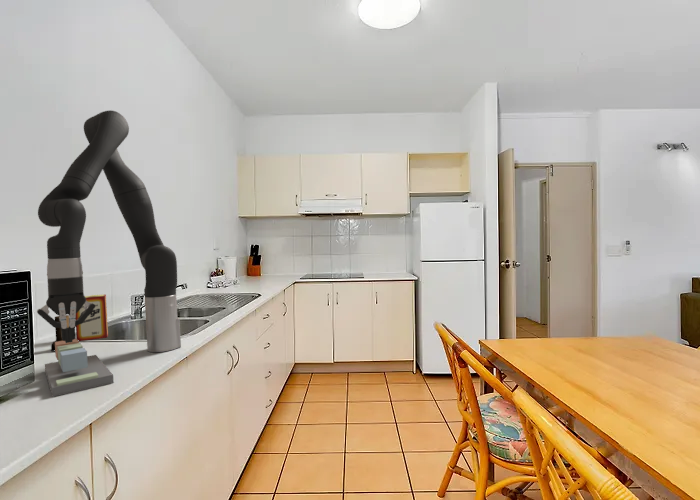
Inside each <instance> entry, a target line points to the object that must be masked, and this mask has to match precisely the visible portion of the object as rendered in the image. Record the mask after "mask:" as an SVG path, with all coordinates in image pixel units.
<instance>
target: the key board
mask: <svg viewBox="0 0 700 500" xmlns="http://www.w3.org/2000/svg"><path fill="white" fill-rule="evenodd" d="M87 362H88V367H87V368H82V369H77V370H72V371H67V372H63V371H62V369H61V366H60V365H59V362H58V361H55V362H49V363H44V373H45V376H46V379H47V382H48V386H49V389H50V393H51V396H52V398H53V397H58V396H61V395H65V394H71V393H75V392H76V393H77V392H79V391H84V390H88V389H93V388H97V387H101V386H106V385H109V384H110V385H111V384H114V374H113V373H112V371H111V370H110V369H109V368H108V367H107V366H106V365H105V364H104V362H103V361H102V360H101V359H100V357H98V355H97V354H93V355H87Z"/></svg>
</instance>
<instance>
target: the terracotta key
mask: <svg viewBox="0 0 700 500" xmlns="http://www.w3.org/2000/svg"><path fill="white" fill-rule="evenodd" d="M77 343H80V341H78V340H77V338H75V339H74V340H72V342H69V343H65V341H58V342H55V351H54V352H55V358H56V360H58V350H57V347H58V346H64V345H70V344H77Z"/></svg>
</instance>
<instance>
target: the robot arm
mask: <svg viewBox="0 0 700 500" xmlns="http://www.w3.org/2000/svg"><path fill="white" fill-rule="evenodd" d="M83 131H84V135H85V138H86V140H87V142H88V145H87V147H86V148H85V149H84V150H83V151H82V152H81V153H80V154H79V155H78V156H77V157H76V158H74V161H73V162H72V163H71V164H70V165H69V167H68V169H67V170H66V172H65V174H64V175H63V178H62V179H61V181H60V183H59V184H58V185H57V186H55V187H54V188H53V189H52V190H51V191H50V192H49V193H48V194H47V195H46V196H45V197H44V198H43V199H42V201H41V202H40V204H39V206H38V209H37V216H38V219H39V221H40V222H41V223H42V224H43V225H44V226H47V227H52V228H55V227H57V228H58V227H60V228H59V229H58V230H59V231H58V233H57V234H55V235H53V236H50V237H49V238H47V241H46V248H47V250H46V252H47V253H46V254H47V264H46V265H47V266H46V276H47V300H46V304H45V305H43V306H42V307H40V308H38V309H37V310H36V313H37V315H39V316H40V317H41V318H42V319H44V320H45V322H47V323H48V324H49V325H50V326H52V327H53V328H54V329H55V328H56V327H57V328H61V333H62V340H63V341H65V343H69V342H72V340H74V339H76V326H77V325H79V324H82V323H83V322H84V321H85V319H86V318H87V317H88V316H89V314H90V313H91V312H92V311H93V309H94V308H95V304H93V303H90V302H88V301H86V297H85V296H86V295H85V294H84V276H83V275H84V272H83V271H84V270H83V264H82V259H81V256H82V255H81V239H82V237H83V233H84V230H85V226H86V225H85V224H86V220H87V213H86V209H85V207H84V205H83V203H82V202H81V201H84V200H86V199H88V197H89V195H90V194H91V192H92V190H93V188H94V186H95V185H96V183H97V181H98V179H99V177H100V176H101V173H102V172H103V173H104V175H105V177H106V179H107V181H108V185H109V186H110V189H111V191H112V195H113V198H114V199H115V202H116V204H117V207H118V208H119V211H120V212H121V215H122V217H123V219H124V221H125V223H126V225H127V227H128V229H129V231H130V232H131V235H132V238H133V240H134V244H135V246H136V249H137V253H138V256H139V260H140V263H141V266H142V268H143V269H144V271H145V285H144V290H143V291H144V305H145V307H144V308H145V309H144V312H145V327H146V331H145V333H146V347H147V352H149V353H162V352H167V351H168V352H169V351H172V350H175V349H178V348H182V341H181V338H182V337H181V321H180V317H178V303H177V301H178V300H177V287H178V263H177V262H178V261H177V256H176V254H175V252H174V250H172V248H170V247H168V246H165V245H164V243H163V241H162V239H161V237H160V234H159V232H158V230H157V226H156V221H155V219H156V218H155V214H154V209H153V203H152V200H151V198H150V196H149V193H148V190H147V188H146V186H145V183H144V182H143V181H142V179H141V178H140V177H139V176H138V175H137V174H136V173H135V172H134V171H133V170H131V168H129V166H127V165H126V164H125V162H124V160H123V159H122V157H121V155H120V152H119V150H118V148H119V146H121V145H122V143H123V142H124V140H126V139H127V137H128V135H129V131H130V126H129V123H128V121H127V120H126V118H125V117H124V115H122V114H121V113H120V112H118V111H115V110H112V109H111V110H105V111H101V112H99V113H97V114H95V115H93V116H91V117H89V118H87V119H86V120H85V122H84V123H83ZM84 304H85V306H84V309H85V310H84V312H83V313H82V314H81V315H80V317H79V318H78V319H77V320H75V318H76V313H77V312H78V311H79V310H80V309H81V307H82V306H83V305H84ZM49 309H50V310H51V312H53V313H54V314H55V315H57V316H59V318H60V322H56V321H55V318H53V317H51V315H50V310H49ZM66 315H69V327H67V321H66Z"/></svg>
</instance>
